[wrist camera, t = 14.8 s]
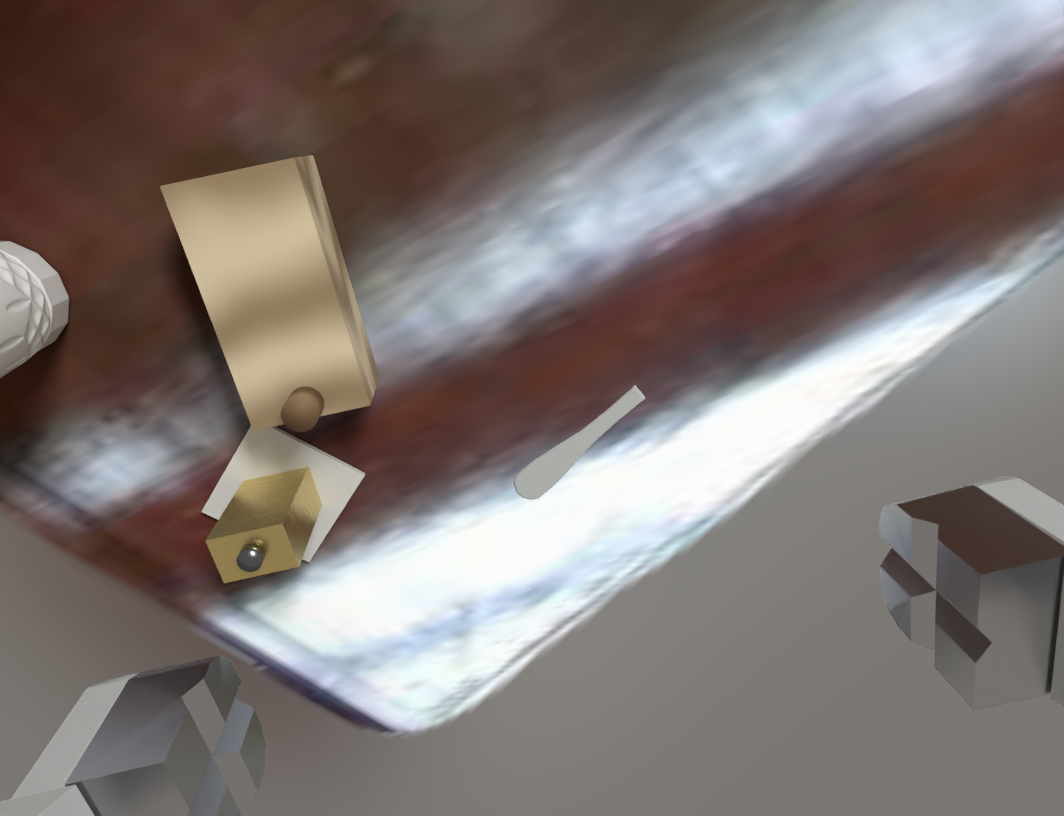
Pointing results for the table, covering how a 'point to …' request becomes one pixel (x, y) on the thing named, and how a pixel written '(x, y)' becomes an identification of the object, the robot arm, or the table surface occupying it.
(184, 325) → the table surface
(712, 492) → the table surface
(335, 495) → the mat
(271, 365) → the body
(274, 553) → the brass knob block
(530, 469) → the butter knife
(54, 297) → the white cup
